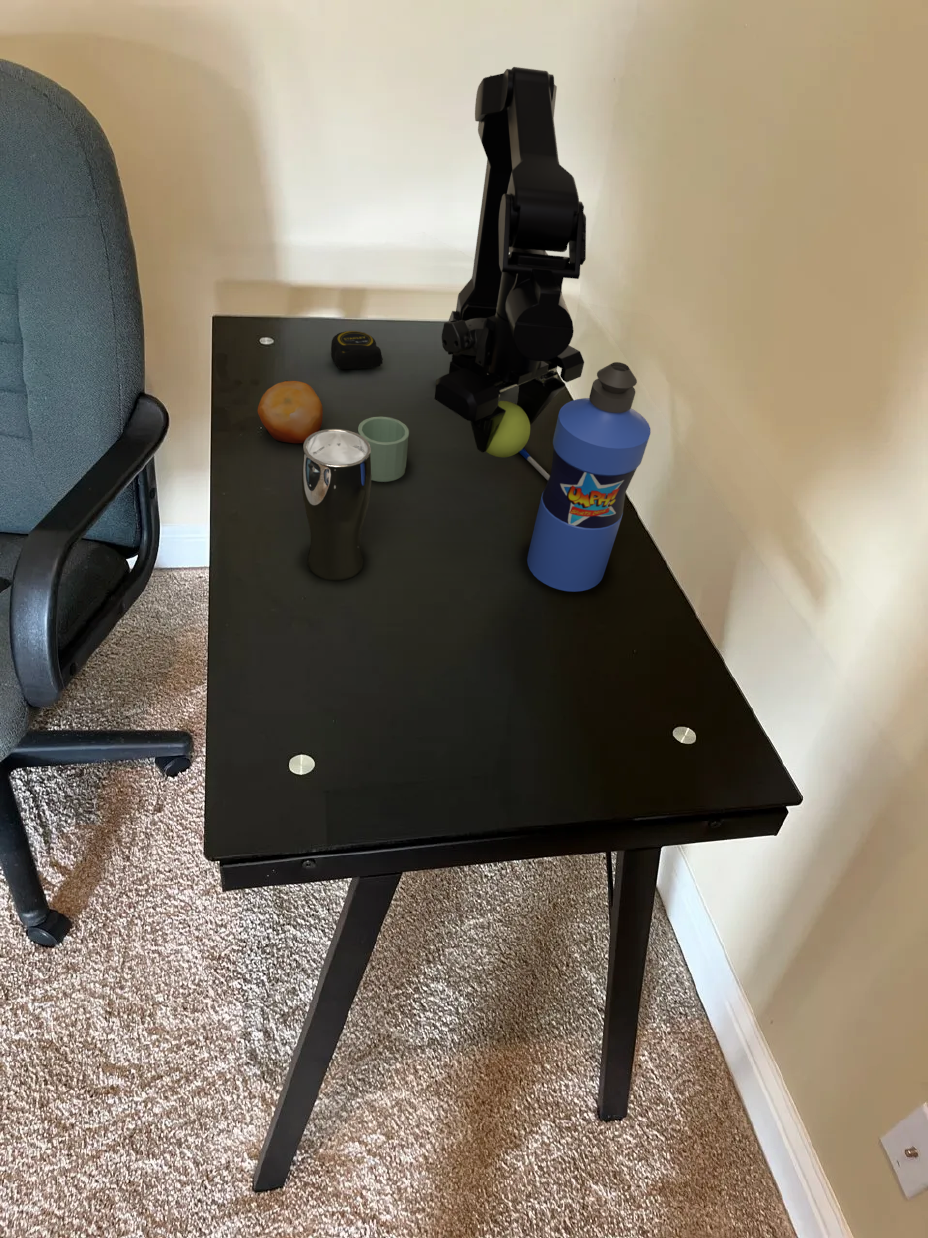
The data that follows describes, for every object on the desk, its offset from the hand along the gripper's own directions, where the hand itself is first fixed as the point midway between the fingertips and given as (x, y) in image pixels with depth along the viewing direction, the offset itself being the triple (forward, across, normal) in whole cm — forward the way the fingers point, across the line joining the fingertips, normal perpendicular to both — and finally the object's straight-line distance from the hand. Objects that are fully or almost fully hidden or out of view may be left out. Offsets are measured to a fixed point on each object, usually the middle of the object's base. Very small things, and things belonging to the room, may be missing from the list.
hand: (500, 441), depth 97 cm
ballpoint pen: (+9, -10, -2) cm, 14 cm away
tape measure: (+8, -7, -35) cm, 37 cm away
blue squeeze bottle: (+8, +2, +14) cm, 17 cm away
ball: (-2, 0, 0) cm, 2 cm away
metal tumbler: (+8, +23, -2) cm, 25 cm away
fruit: (+8, +12, -25) cm, 29 cm away
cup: (+8, +7, -13) cm, 17 cm away
